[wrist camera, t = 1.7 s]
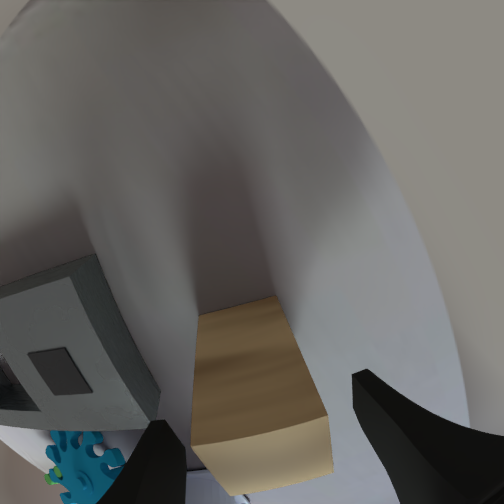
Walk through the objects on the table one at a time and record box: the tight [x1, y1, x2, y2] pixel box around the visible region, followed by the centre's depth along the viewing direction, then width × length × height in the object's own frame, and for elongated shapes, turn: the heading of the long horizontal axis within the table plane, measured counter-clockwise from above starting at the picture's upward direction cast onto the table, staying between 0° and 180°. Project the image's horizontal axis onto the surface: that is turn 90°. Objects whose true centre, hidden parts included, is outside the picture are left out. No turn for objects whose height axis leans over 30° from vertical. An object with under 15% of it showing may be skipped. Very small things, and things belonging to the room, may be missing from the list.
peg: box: [191, 296, 334, 496], centre depth 11 cm, size 4×4×8 cm
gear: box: [45, 430, 125, 504], centre depth 16 cm, size 11×6×10 cm
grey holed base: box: [0, 254, 161, 431], centre depth 13 cm, size 9×20×3 cm, turn 104°
